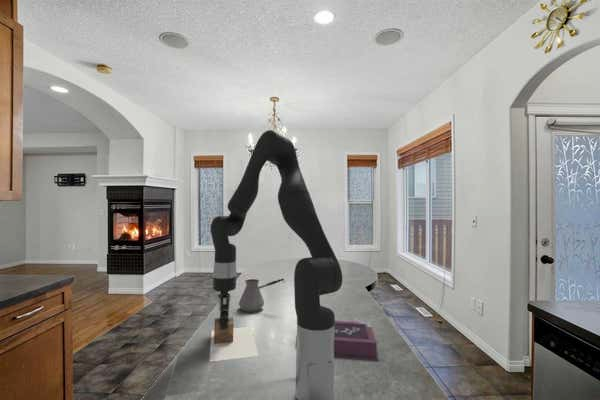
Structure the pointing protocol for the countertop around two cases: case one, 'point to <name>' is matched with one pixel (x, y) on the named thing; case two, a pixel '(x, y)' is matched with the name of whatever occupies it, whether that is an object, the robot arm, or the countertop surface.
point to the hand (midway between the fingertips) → (223, 324)
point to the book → (354, 339)
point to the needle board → (234, 346)
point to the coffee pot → (253, 296)
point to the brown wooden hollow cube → (223, 331)
